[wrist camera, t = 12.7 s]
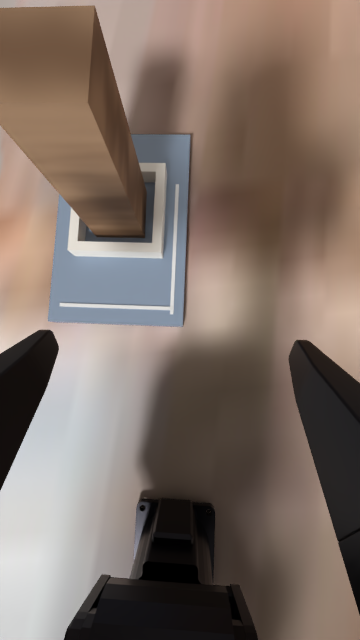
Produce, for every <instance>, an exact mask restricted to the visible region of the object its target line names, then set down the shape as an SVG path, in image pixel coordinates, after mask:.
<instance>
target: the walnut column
mask: <svg viewBox="0 0 360 640" xmlns="http://www.w3.org/2000/svg"><path fill="white" fill-rule="evenodd" d="M0 125H1V127H2V128H3V129H4V130H5V131H6V132H7V134H8V135H9V136H10V137H11V138H12V139H13V141H14V142H15V143H16V144H17V145H18V146H19V147H20V149H21V150H22V151H23V152H24V153H25V154H26V156H27V157H28V158H29V159H30V160H31V161H32V163H33V164H34V165H35V166H36V167H37V168H38V170H39V171H40V172H41V173H42V174H43V175H44V176H45V178H46V179H47V180H48V181H49V182H50V183H51V185H52V186H53V187H54V188H55V189H56V190H57V192H58V193H59V194H60V195H61V196H62V197H63V199H64V200H65V201H66V202H67V203H68V204H69V205H70V207H71V208H72V209H73V210H74V211H75V212H76V214H77V215H78V216H79V217H80V218H81V219H82V221H83V222H84V223H85V224H86V225H87V226H88V228H89V229H90V230H91V231H92V232H93V233H94V235H95V236H96V237H110V238H145V223H146V201H147V190H146V187H145V183H144V180H143V176H142V173H141V169H140V166H139V162H138V158H137V155H136V151H135V148H134V144H133V141H132V137H131V133H130V130H129V126H128V123H127V119H126V116H125V112H124V108H123V105H122V101H121V98H120V94H119V91H118V87H117V84H116V80H115V76H114V73H113V69H112V66H111V62H110V59H109V55H108V51H107V48H106V44H105V41H104V37H103V34H102V30H101V26H100V23H99V19H98V16H97V12H96V9H95V6H60V7H20V8H0Z"/></svg>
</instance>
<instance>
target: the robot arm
mask: <svg viewBox="0 0 360 640" xmlns="http://www.w3.org/2000/svg"><path fill="white" fill-rule="evenodd" d="M58 350H59V346H58V343H57V341H56V339H55V336H54V334H53V332H52V331H51V330H38V331H37V332H35V333H33V334H32V335H30V336H28V337H27V338H25V339H24V340H22V341H20V342H19V343H17V344H15V345H14V346H12V347H11V348H9V349H7V350H6V351H4V352H2V353H1V354H0V490H1V488H2V486H3V483H4V481H5V479H6V477H7V475H8V472H9V470H10V468H11V466H12V463H13V461H14V459H15V457H16V455H17V452H18V450H19V448H20V446H21V443H22V441H23V439H24V437H25V435H26V432H27V430H28V428H29V426H30V423H31V421H32V419H33V417H34V415H35V412H36V410H37V408H38V406H39V403H40V401H41V399H42V397H43V395H44V392H45V390H46V388H47V385H48V382H49V379H50V376H51V373H52V370H53V367H54V364H55V360H56V357H57V354H58ZM289 365H290V371H291V377H292V383H293V388H294V394H295V399H296V403H297V406H298V410H299V413H300V416H301V420H302V423H303V426H304V430H305V433H306V436H307V440H308V443H309V446H310V450H311V453H312V456H313V460H314V463H315V467H316V470H317V473H318V477H319V480H320V483H321V487H322V490H323V493H324V497H325V500H326V503H327V507H328V510H329V513H330V517H331V520H332V523H333V527H334V530H335V533H336V537H337V540H338V541H339V542H338V544H339V547H340V551H341V554H342V557H343V561H344V564H345V567H346V571H347V574H348V577H349V581H350V584H351V587H352V591H353V594H354V597H355V601H356V604H357V607H358V611H359V614H360V383H359V382H358V381H356V380H355V379H354V378H353V377H352V376H350V375H349V374H348V373H347V372H346V371H344V370H343V369H342V368H341V367H340V366H338V365H337V364H336V363H335V362H334V361H332V360H331V359H330V358H329V357H328V356H326V355H325V354H324V353H323V352H322V351H320V350H319V349H318V348H317V347H316V346H314V345H313V344H312V343H311V342H309V341H307V340H296V341H295V342H294V345H293V347H292V350H291V352H290V355H289ZM141 505H144V506H145V508H141ZM208 509H210V510H211V512H210V513H207V512H206V510H208ZM214 531H215V510H214V506H213V505H212V504H210V503H198V502H191V501H190V500H179V499H163V498H162V499H161V500H154V499H141V500H139V502H138V504H137V508H136V527H135V546H134V564H133V567H132V571H131V575H130V579H127V578H114V577H110V575H103V574H102V575H101V577H100V578H99V580H98V581H97V583H96V584H95V586H94V587H93V589H92V590H91V592H90V594H89V595H88V597H87V598H86V600H85V601H84V603H83V604H82V606H81V607H80V609H79V610H78V612H77V614H76V615H75V617H74V619H73V620H72V622H71V623H70V625H69V626H68V628H67V631H66V634H65V638H64V640H258V637H257V633H256V630H255V627H254V624H253V621H252V618H251V616H250V613H249V610H248V608H247V605H246V602H245V600H244V597H243V594H242V592H241V589H240V586H239V585H235V584H230V586H219V585H213V570H214Z"/></svg>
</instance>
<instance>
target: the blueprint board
mask: <svg viewBox="0 0 360 640" xmlns="http://www.w3.org/2000/svg"><path fill="white" fill-rule="evenodd" d="M131 137H132V141H133V144H134V148H135V151H136V155H137V158H138V162H139V166H140V169H141V173H142V176H143V180H144V183H145V187H146V190H147V201H146V223H145V238H110V237H96V236H95V235H94V233H93V232H92V231H91V230H90V229H89V228H88V226H87V225H86V224H85V223H84V222H83V221H82V219H81V218H80V217H79V216H78V215H77V214H76V212H75V211H74V210H73V209H72V208H71V207H70V205H69V204H68V203H67V202H66V201H65V200H64V199H63V197H62V196H61V195H60V194H59V204H58V215H57V226H56V237H55V247H54V258H53V269H52V280H51V291H50V302H49V313H48V321H50V322H64V323H91V324H117V325H144V326H170V327H183V313H184V288H185V263H186V238H187V212H188V187H189V162H190V135H160V134H131Z"/></svg>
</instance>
